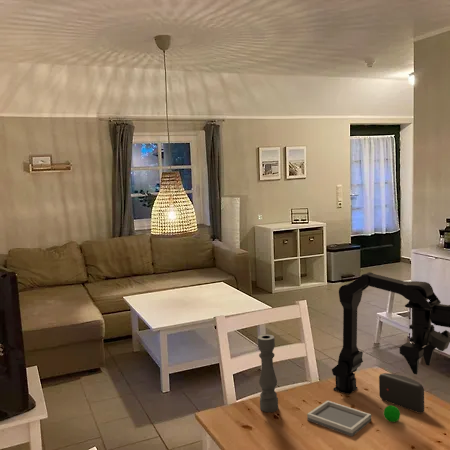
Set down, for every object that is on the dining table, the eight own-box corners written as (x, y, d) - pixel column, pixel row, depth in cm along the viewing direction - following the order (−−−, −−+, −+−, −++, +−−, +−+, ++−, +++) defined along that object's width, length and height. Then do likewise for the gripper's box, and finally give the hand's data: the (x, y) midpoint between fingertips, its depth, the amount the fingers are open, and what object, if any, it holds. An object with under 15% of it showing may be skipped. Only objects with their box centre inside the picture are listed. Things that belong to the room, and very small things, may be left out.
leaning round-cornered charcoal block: (429, 410, 163) (429, 383, 162) (422, 415, 160) (422, 387, 159) (385, 395, 175) (385, 369, 174) (378, 399, 172) (377, 373, 171)
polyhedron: (398, 426, 154) (397, 411, 154) (382, 422, 157) (381, 408, 156) (401, 419, 158) (401, 404, 158) (386, 415, 161) (385, 401, 160)
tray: (307, 420, 161) (307, 413, 160) (327, 406, 169) (327, 400, 169) (352, 436, 149) (351, 429, 149) (371, 420, 158) (371, 414, 158)
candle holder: (257, 411, 169) (254, 339, 166) (263, 402, 174) (260, 333, 172) (275, 413, 166) (272, 340, 164) (280, 405, 172) (277, 334, 169)
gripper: (434, 335, 146) (434, 386, 148) (458, 319, 159) (458, 366, 161) (398, 327, 154) (399, 376, 156) (424, 313, 167) (424, 358, 169)
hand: (421, 369), depth 160 cm, fingers open, 9 cm apart
